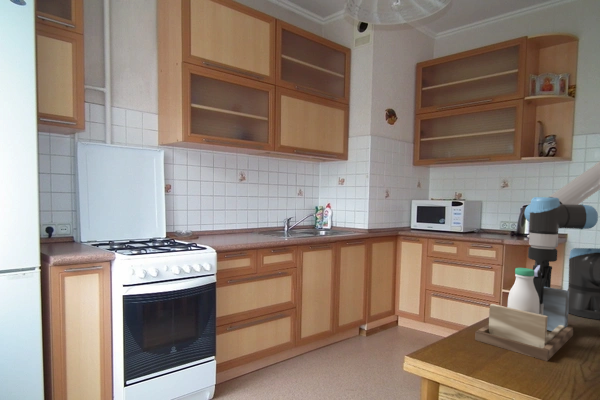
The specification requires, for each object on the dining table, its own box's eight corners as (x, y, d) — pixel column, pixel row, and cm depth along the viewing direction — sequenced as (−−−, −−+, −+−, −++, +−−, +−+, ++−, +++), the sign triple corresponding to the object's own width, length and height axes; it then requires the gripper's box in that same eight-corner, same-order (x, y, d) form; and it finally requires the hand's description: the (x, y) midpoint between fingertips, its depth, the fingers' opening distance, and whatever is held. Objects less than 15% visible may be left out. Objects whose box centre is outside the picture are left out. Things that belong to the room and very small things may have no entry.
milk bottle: (543, 347, 101) (546, 272, 101) (511, 344, 103) (514, 270, 103) (531, 336, 109) (534, 267, 108) (502, 334, 110) (505, 265, 110)
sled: (517, 319, 124) (518, 282, 124) (567, 330, 114) (569, 291, 114) (488, 336, 107) (490, 294, 107) (544, 352, 97) (546, 305, 97)
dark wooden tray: (508, 320, 123) (509, 312, 123) (572, 335, 111) (573, 327, 111) (475, 339, 105) (475, 331, 105) (547, 361, 93) (547, 351, 93)
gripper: (536, 243, 126) (533, 314, 126) (520, 247, 114) (517, 325, 114) (564, 246, 120) (560, 320, 121) (549, 250, 108) (545, 332, 109)
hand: (539, 322), depth 117 cm, fingers closed on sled, 4 cm apart
